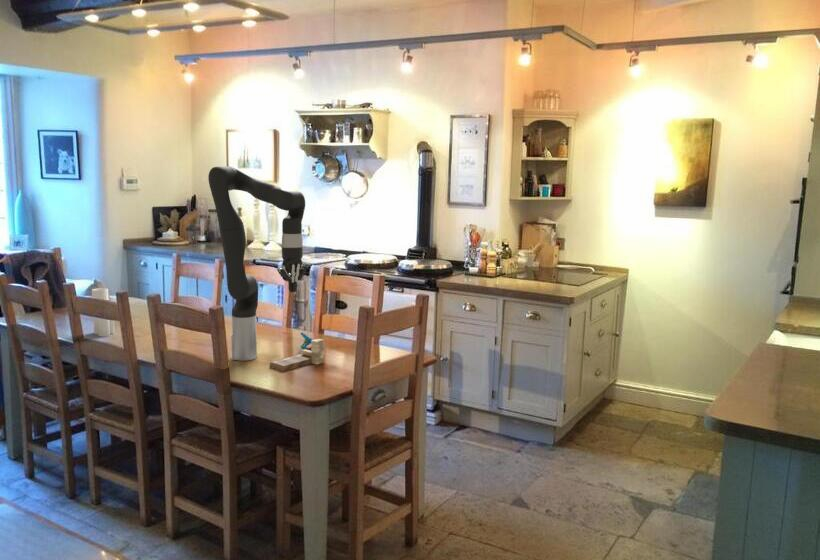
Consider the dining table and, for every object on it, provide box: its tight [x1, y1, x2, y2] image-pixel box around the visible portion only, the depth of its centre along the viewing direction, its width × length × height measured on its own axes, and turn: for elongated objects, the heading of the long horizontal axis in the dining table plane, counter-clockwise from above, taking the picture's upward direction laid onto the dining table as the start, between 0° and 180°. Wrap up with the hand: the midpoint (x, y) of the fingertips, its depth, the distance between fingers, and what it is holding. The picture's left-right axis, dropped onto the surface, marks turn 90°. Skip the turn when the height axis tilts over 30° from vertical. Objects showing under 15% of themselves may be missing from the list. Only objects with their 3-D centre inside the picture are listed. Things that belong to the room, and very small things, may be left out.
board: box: [269, 353, 312, 372], centre depth 255 cm, size 20×8×2 cm, turn 141°
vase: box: [91, 287, 115, 338], centre depth 296 cm, size 11×7×20 cm, turn 46°
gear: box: [300, 332, 313, 350], centre depth 276 cm, size 11×6×10 cm
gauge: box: [300, 338, 325, 365], centre depth 257 cm, size 4×10×9 cm, turn 51°
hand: (292, 291), depth 245 cm, fingers closed
